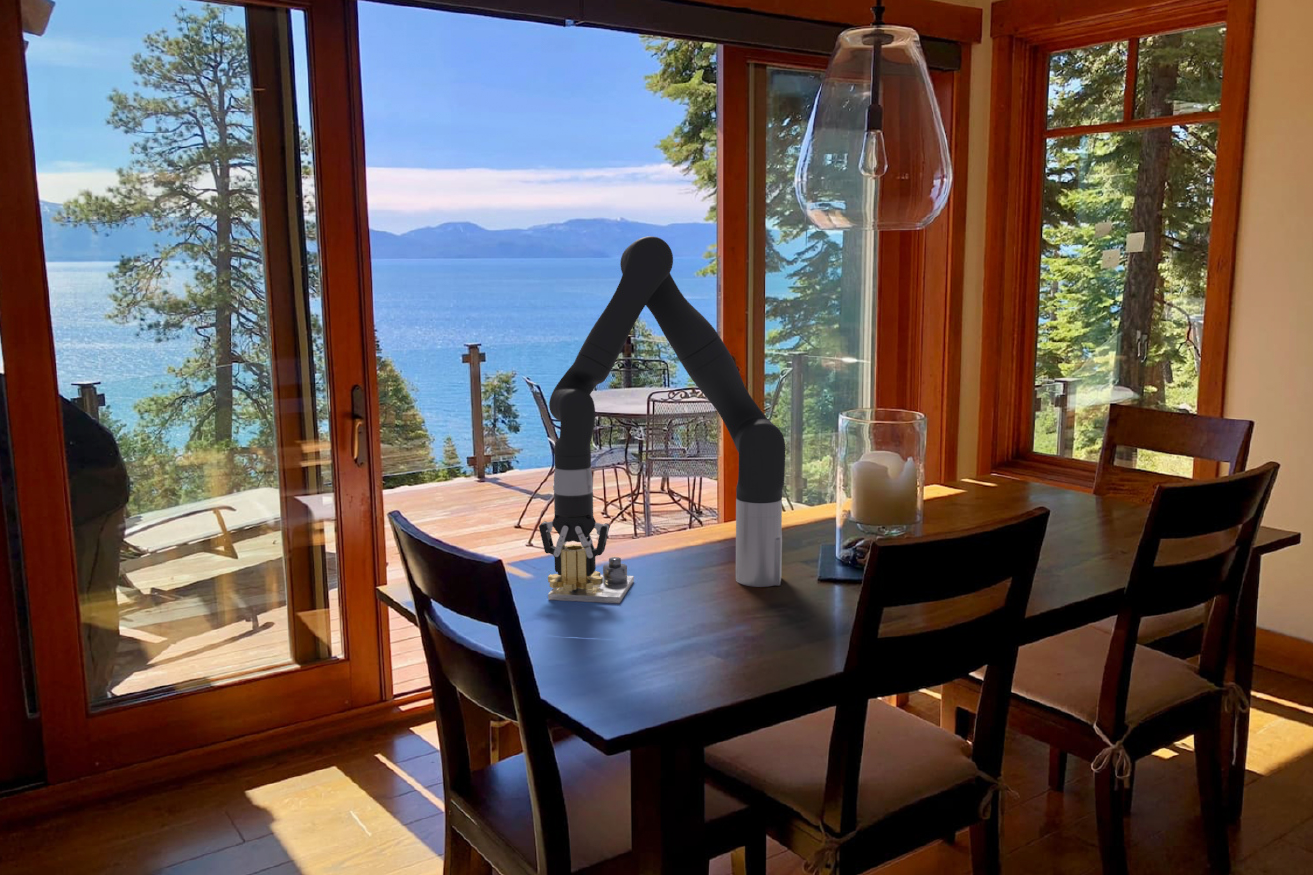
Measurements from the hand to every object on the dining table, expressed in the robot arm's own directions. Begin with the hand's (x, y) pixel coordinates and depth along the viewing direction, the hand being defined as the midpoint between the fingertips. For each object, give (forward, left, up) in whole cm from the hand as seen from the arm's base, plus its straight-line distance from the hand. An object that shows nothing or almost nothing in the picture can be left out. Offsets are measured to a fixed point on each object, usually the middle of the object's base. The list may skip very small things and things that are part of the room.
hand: (575, 574), depth 190 cm
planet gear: (0, 0, -2) cm, 2 cm away
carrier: (-3, -2, -4) cm, 5 cm away
